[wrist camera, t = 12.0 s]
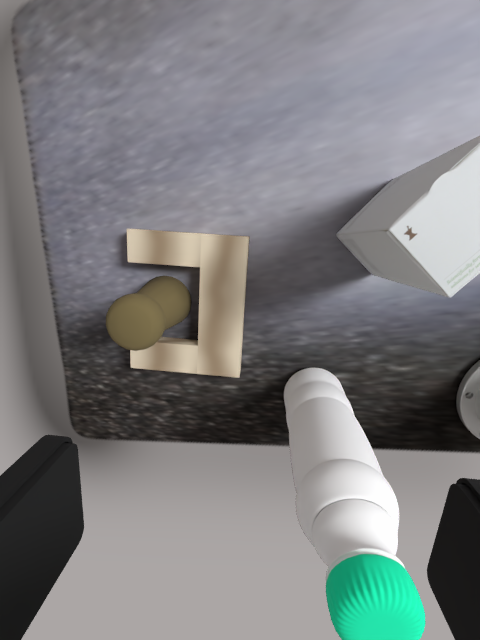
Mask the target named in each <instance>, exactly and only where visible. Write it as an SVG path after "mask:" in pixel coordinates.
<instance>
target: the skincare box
mask: <svg viewBox="0 0 480 640" xmlns="http://www.w3.org/2000/svg"><path fill="white" fill-rule="evenodd" d="M336 236H337V237H338V238H339V240H340V241H341V242H342V243H343V244H344V245H345V246H346V247H347V248H348V250H349V251H350V252H351V253H352V254H353V255H354V256H355V257H356V258H357V259H358V260H359V261H360V262H361V263H362V265H363V266H364V267H365V268H366V269H367V270H368V271H369V272H370V273H371V274H372V275H374V276H378V277H381V278H385V279H388V280H392V281H395V282H398V283H402V284H405V285H409V286H412V287H415V288H419V289H422V290H426V291H429V292H433V293H436V294H439V295H443V296H446V297H449V298H450V297H452V296H453V295H454V294H455V293H456V292H458V291H459V290H460V289H461V288H462V287H464V286H465V285H466V284H467V283H468V282H469V281H471V280H472V279H473V278H474V277H476V276H477V275H478V274H479V273H480V136H478V137H476V138H474V139H472V140H470V141H468V142H466V143H464V144H462V145H460V146H458V147H456V148H454V149H452V150H450V151H448V152H447V153H445V154H443V155H441V156H439V157H437V158H435V159H433V160H431V161H429V162H427V163H425V164H422V165H421V166H419V167H417V168H415V169H413V170H411V171H409V172H407V173H405V174H403V175H401V176H398V177H396V178H394V179H393V180H391V181H390V182H389V183H388V184H387V185H386V186H385V187H384V188H383V189H382V190H381V191H380V192H379V193H377V194H376V195H375V196H374V197H373V198H372V199H371V200H370V201H369V202H368V203H367V204H366V205H365V206H364V207H363V208H362V209H361V210H360V211H359V212H358V213H357V214H356V215H355V216H354V217H353V218H352V219H351V220H350V221H349V222H347V223H346V224H345V226H344V227H343V228H342V229H341V230H340V231H339V232H338V233H337V234H336Z"/></svg>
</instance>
